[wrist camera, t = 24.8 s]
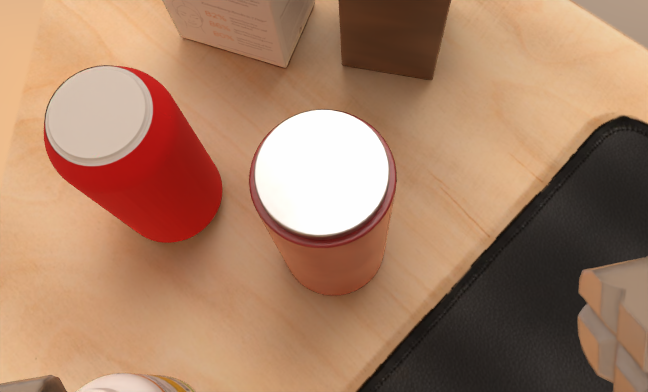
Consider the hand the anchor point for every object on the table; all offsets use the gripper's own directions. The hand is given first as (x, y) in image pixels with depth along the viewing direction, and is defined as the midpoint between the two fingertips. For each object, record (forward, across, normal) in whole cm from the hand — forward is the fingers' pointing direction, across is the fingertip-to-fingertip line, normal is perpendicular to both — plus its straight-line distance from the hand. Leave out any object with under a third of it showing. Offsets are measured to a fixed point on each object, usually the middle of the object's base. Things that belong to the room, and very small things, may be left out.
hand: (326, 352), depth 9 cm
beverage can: (+27, +8, +9) cm, 29 cm away
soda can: (+23, -1, +12) cm, 26 cm away
